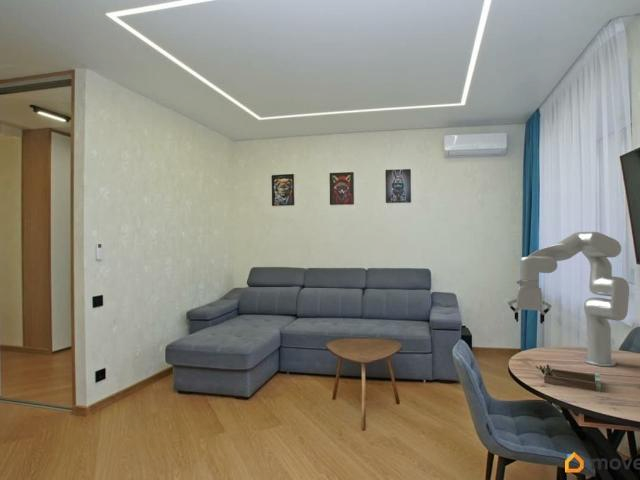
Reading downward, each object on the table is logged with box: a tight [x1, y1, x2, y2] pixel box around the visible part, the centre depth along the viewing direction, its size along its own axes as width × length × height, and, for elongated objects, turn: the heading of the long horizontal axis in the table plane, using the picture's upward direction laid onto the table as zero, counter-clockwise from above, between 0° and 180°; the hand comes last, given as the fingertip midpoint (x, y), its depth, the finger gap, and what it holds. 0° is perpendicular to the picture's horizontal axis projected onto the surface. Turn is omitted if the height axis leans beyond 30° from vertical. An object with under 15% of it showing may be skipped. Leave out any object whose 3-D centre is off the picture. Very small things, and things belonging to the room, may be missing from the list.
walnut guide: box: [543, 367, 602, 392], centre depth 166 cm, size 12×20×4 cm, turn 57°
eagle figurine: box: [535, 363, 558, 379], centre depth 170 cm, size 8×7×9 cm
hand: (529, 322), depth 176 cm, fingers open, 9 cm apart
